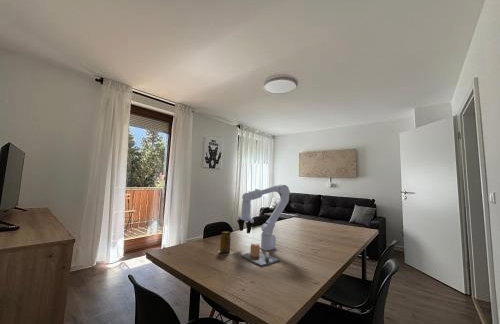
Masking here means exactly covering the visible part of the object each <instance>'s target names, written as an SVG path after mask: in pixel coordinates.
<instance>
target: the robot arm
mask: <svg viewBox="0 0 500 324" xmlns="http://www.w3.org/2000/svg"><path fill="white" fill-rule="evenodd" d="M290 192H291V191H290V188H289V186H287V185H286V184H278V185H273V186H270V187H267V188H264V189H258V188H255V189H253V190H251V191H248V192H244V193H243V194H242V197H241V199H242V202H241V203H242V204H241V215H239V216H237V220H236V221H237V224H238V228H239V232H243V231H244V226H246V233H247V234H251V231H252V228H253V226H254V224H255V222H254V221H255V220H254V219H253V218H251V208H252V207H251V206H252V205H251V202H252V201H253V200H257V199H260V198H262V197H263V195H267V194H270V193H277V194H278V196H279V198H280V201H279V202H278V204H277V205H276V207H275V208H274V210H273V212H272V213H271V215H270V216H269V218H268V219H267V220H266V221H265V223H263V224H262V225H261V227H260V228H261V231H262V232H261V234H260V235H261V236H260V237H261V238H260V239H261V241H260V245H259V246H260V250H263V251H265V252H267V251H271V250H276V249H277V247H276V241H277V240H276V239H277V238H276V236H275V234H274V228H275V226H276V222H277V221H278V220H279V218H280V216H281V215H282V213H283V211H284V210H285V208H286V207H287V205H288V203H289V201H290Z"/></svg>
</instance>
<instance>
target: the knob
mask: <svg viewBox="0 0 500 324" xmlns="http://www.w3.org/2000/svg"><path fill="white" fill-rule="evenodd" d="M260 246H261V245H260V244H259V243H251V244H250V252H249V253H250V255H251V256H253V257H258V256H259V253H260V252H261V251H260V250H261V249H260Z"/></svg>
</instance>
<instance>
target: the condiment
mask: <svg viewBox="0 0 500 324" xmlns="http://www.w3.org/2000/svg"><path fill="white" fill-rule="evenodd" d="M231 238H232V237H231V232H230V231H221V236H220V243H219V245H220V246H219V250H217V251H216V252H217V253H219V254H221V255H223V256H228V255H233V254H234V252H233V251H231Z"/></svg>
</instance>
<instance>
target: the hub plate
mask: <svg viewBox="0 0 500 324" xmlns="http://www.w3.org/2000/svg"><path fill="white" fill-rule="evenodd" d="M239 256H240V258H243V259H245V260H246V261H248V262H250V263H253V264H254V265H256V266H258V267H261V268H262V267H265V266H268V265H272V264H276V263H278V262H281V260H280V258H277V257H275V256H272V255H270V252H267V251H265V252H262V251H260V253H259V256H258V257H253V256H251V255H250V252H247V253H244V254H240V255H239Z"/></svg>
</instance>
